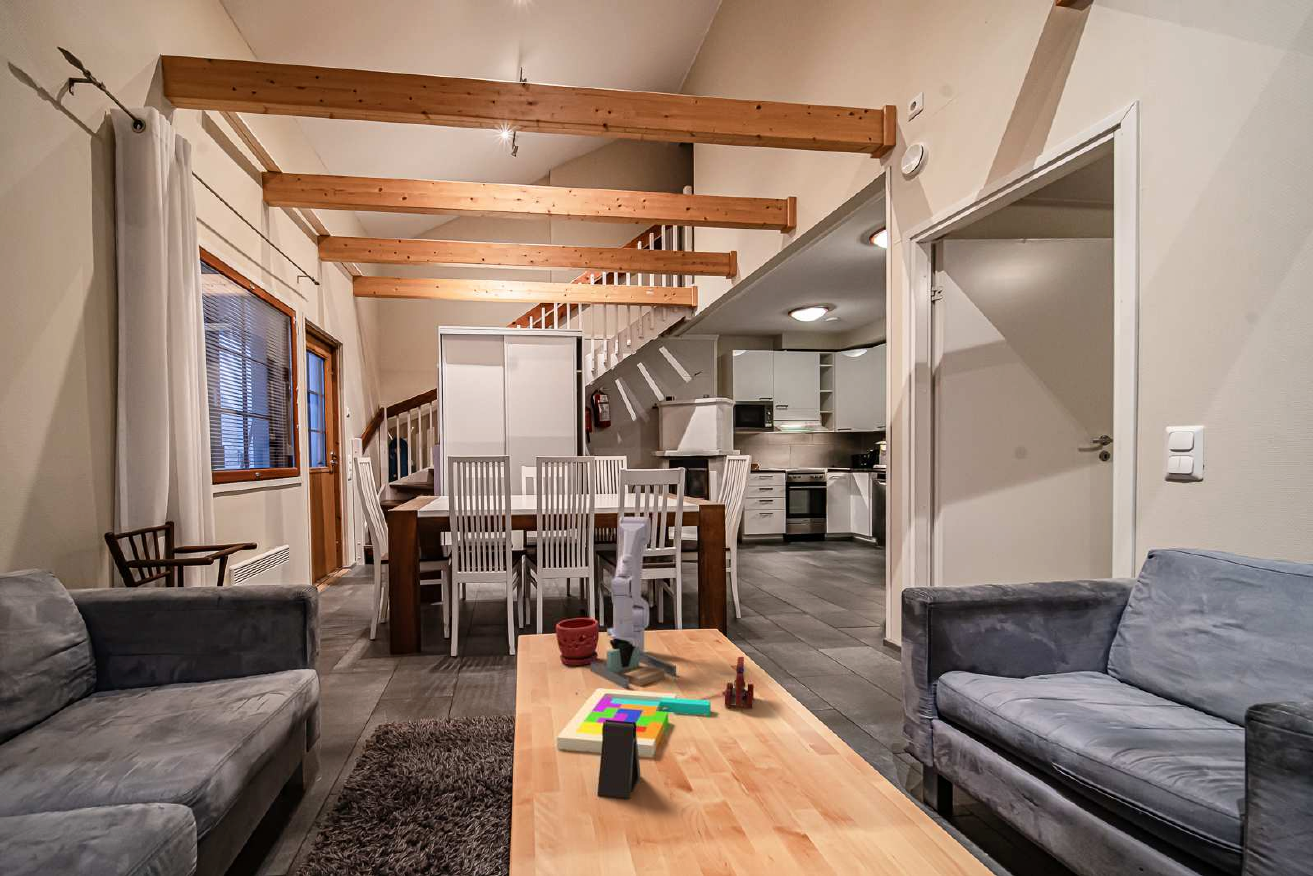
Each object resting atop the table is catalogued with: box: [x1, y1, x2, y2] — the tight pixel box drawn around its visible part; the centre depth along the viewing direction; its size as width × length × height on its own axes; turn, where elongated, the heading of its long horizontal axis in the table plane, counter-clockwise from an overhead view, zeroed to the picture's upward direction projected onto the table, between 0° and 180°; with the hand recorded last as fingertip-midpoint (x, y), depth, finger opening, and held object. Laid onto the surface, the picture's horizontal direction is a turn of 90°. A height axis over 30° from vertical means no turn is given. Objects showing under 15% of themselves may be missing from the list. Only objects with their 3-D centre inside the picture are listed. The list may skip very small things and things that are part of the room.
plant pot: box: [555, 617, 600, 667], centre depth 196 cm, size 13×13×12 cm
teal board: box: [606, 646, 640, 673], centre depth 185 cm, size 2×10×7 cm, turn 127°
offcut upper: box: [623, 665, 666, 687], centre depth 176 cm, size 6×10×2 cm, turn 137°
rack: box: [590, 651, 677, 690], centre depth 181 cm, size 18×17×4 cm
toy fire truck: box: [724, 656, 755, 709], centre depth 162 cm, size 7×12×10 cm, turn 169°
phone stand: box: [597, 720, 642, 800], centre depth 121 cm, size 9×6×12 cm, turn 167°
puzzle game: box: [556, 687, 712, 758], centre depth 148 cm, size 30×3×30 cm
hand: (623, 665), depth 185 cm, fingers closed on teal board, 2 cm apart
